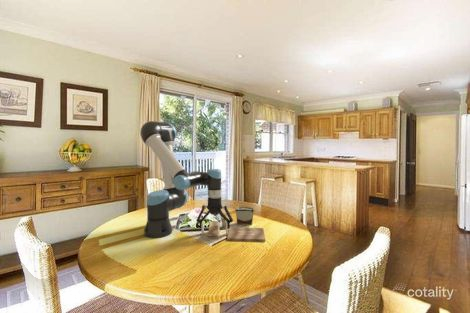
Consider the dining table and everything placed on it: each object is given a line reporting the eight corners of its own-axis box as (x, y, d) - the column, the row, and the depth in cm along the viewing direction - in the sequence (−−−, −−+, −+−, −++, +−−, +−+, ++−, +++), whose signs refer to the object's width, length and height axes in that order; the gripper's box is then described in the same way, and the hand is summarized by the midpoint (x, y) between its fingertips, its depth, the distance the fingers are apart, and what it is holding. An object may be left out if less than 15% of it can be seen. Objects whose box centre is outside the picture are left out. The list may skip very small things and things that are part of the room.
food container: (254, 221, 156) (254, 206, 155) (254, 224, 150) (254, 209, 149) (235, 220, 157) (235, 205, 156) (234, 224, 151) (234, 208, 150)
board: (227, 240, 126) (227, 238, 126) (229, 229, 142) (229, 227, 142) (265, 241, 125) (265, 239, 125) (263, 230, 141) (263, 228, 141)
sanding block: (208, 237, 130) (208, 226, 129) (210, 231, 139) (210, 221, 138) (217, 237, 130) (217, 227, 129) (219, 231, 139) (219, 221, 138)
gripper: (190, 198, 130) (191, 236, 131) (236, 198, 128) (236, 237, 130) (193, 195, 137) (194, 231, 138) (237, 195, 136) (237, 231, 137)
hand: (214, 234), depth 134 cm, fingers open, 13 cm apart
